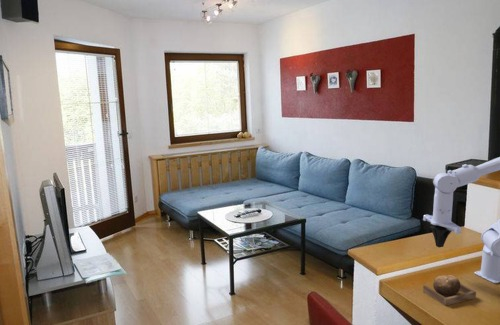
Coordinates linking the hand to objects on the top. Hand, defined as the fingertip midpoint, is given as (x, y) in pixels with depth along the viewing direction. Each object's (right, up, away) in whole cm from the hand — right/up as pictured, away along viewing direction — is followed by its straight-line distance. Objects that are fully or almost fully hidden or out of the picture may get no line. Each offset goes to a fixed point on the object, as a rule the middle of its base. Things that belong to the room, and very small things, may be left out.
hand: (439, 246), depth 136 cm
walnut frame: (-3, -13, -12) cm, 18 cm away
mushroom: (-4, -13, -11) cm, 17 cm away
